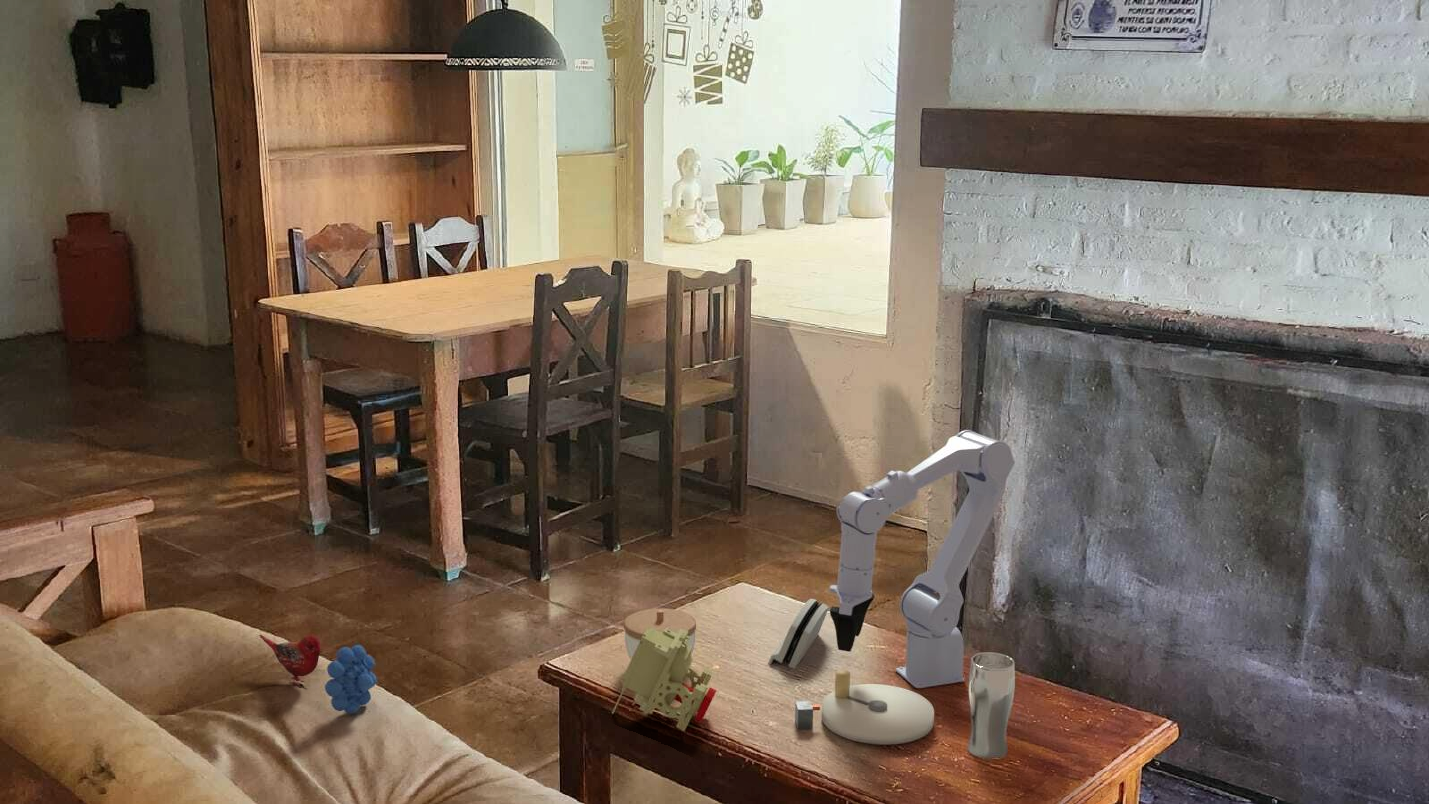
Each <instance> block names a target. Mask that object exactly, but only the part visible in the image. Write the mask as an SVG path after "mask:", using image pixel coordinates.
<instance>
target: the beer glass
mask: <svg viewBox="0 0 1429 804" xmlns="http://www.w3.org/2000/svg"><path fill="white" fill-rule="evenodd" d="M1015 665H1016V663H1015V660H1014V659H1013V658H1012V657H1010V656H1009V655H1005V654H1004V653H1000V652H994V651H993V652H991V651H987V652H977V653H974V655H972V656H971V658H970V666H969V672H968V673H969V674H968V683H967V689H968V690H967V693H968V694H967V695H968V696H967V697H968V704H969V713H970V720H971V723H970V724H971V728H970V729H971V730H970V736H969V738H968V739H969V740H968V744H967V751H968V752H969V754H971V755H972V756H974V757H976V756H977V757H976V758H978V757H981V758H984V759H983V760H987V759H992V758H993V759H994V758H1001V757H1003V756H1005V755H1006V754H1007V755H1008V744H1007V728H1008V722H1009V718H1010V714H1011V711H1012V706H1013V702H1014V697H1015V690H1016V689H1015V688H1016V687H1015V685H1016V684H1015V683H1016V682H1015V681H1016V679H1015V676H1016V674H1015ZM1007 755H1006V756H1007ZM1006 756H1005V757H1006ZM981 758H980V759H981ZM1003 758H1004V757H1003ZM1001 759H1002V758H1001Z"/></svg>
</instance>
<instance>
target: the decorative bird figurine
mask: <svg viewBox="0 0 1429 804" xmlns="http://www.w3.org/2000/svg"><path fill="white" fill-rule="evenodd" d="M259 637H260V638H261V640H263V642H264V643H266V644H267V646H269V647H270V648H271V649H272V651H273V652H274V654H275V656H276V659H277V661H278V662H279V663H280V664H281V665H282V666H283V668H285V669H286V670H287V671H286V672H288V673H290V674H292V677H291V678H290V679H291V680H296V681H301V680H302V679H301V678H300V677H305V676H308V675H310V674H312V673H313V672H314V671H315V670H316V668H317V666H318V663H319V660H320V659H319V658H320V654H321V653H322V652H323V650H322V647H321V643H320V640H319V638H318V637H317V636H315V635H313V634H311V635H310V634H309V635H307V636H304V637H303V638H302V639H301V640H300V641H286V642H285V641H284V642H282V643H278V644H277V643H276V642H274V641H272V640H271V639H269V638H267V637H266V636H264V635H262V634H259ZM301 682H305V681H303V680H302V681H301Z"/></svg>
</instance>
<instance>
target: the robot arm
mask: <svg viewBox="0 0 1429 804" xmlns="http://www.w3.org/2000/svg"><path fill="white" fill-rule="evenodd" d="M1012 452H1013V451H1012V450H1011V447H1010V446H1009V445H1008V444H1007V443H1006V442H1005V441H1003V440H1002V441H1001V440H997V439H994V438H991V437H988V436H985V435H983V434H981V433H980V434H979V433H977V432H976V431H973V430H971V429H964V430H962V431H960V432H959V433H957V434H956V435H954V436H952V437H951V436H950V437H949V438H948V439H947V441H946V445H945V446H943V447H942V448H941V449H939V450H937V451H936V452H935V453H933V454H931V455H930V456H928V457H927V458H926V459H924V460H923V461H922V462H920V463H919V464H917V465H916V466H915V467H913V468H912V469H910V470H909V471H907V472H905V471H903V470H896V471H894V470H890V471H889V472H887V473H886V477H884V478H882V479H880V480H879V481H877V482H875V483H873V484H872V485H867V486H865V487H864V489H863V490H862V491H861V492H860V491H851V492H849V493H848V494H846V495H845V496H844V497H842V499H841V501H840V503H839V506H837V507H836V515H837V518H838V520H839V521H840V531H841V538H840V548H839V549H840V550H839V561H838V571H837V583H836V584H832V585H830V586H829V588H828V589H829V592H830V593H833V594H835V595H836V598H837V599H838V602H839V606H834V605H832V606H831V607H830V609H829V614H830V618H831V619H832V622H833V625H834V629H835V635H836V643H837V648H838V650H839V651H842V652H848V653H849V652H850V653H851V651H852V649H853V647H854V643H855V639H856V637H859V636H860V634H861V631H862V630H863V629H862V628H863V625H864V621H865V619H866V614H867V612H868V609H869V607H870V605H871V603H873V601H874V599H875V594H874V593H873V591H872V585H873V576H874V574H873V573H874V567H875V566H874V565H875V557H876V556H875V555H876V547H877V536H878V532H879V531H881V529H882V528H884V526H885V523H886V522H887V520H888V519H889V518H890V516H891V515H893V514H894V513H896V512H897V511H900V510H901V509H902V508H904V507H906V506H907V505H909V504H911V503H912V502H914V501H915V500H916V499H917V496H918V493H919V490H921V489H923V488H924V487H928V485H931V484H933V483H934V482H936V481H939V480H940V479H943V478H944V477H947V476H948V475H950V474H952V473H954V472H961V473H962V475H963V476H964V478H965V480H966V483H967V486H968V490H969V491H968V493H967V495H966V497H965V499H964V501H963V503H962V505H961V506H960V509H959V511H958V513H957V515H956V517H955V519H954V521H953V522H952V525H951V527H950V530H949V531H948V533H947V535H946V537H945V539H944V541H943V543H942V545H941V547H940V549H939V551H938V552H937V555H936V556H935V559H934V562H933V563H932V564H931V567H930V569H929V570H928V571H926V572H923V573H921V574H919V575H916V576H915V578H914V580H913V583H912V584H910V586H909V587H907V589H906V590H905V591H904V592H903V593H902V595H901V597H900V600H899V611H900V613H901V614H902V616H903V617H904V618H905V625H906V626H907V627H906V629H907V630H906V649H905V650H906V653H905V666H901V667H897V668H895V672H896V673H898V674H899V675H900V676H901V677H903V679H905V680H906V681H907V682H909V683H910V684H911V685H912V686H913V687H914V688H915V689H923V688H929V687H935V686H942V685H947V684H950V685H951V684H954V683H962V682H964V681H965V678H964V677H963V672H964V671H963V667H964V653H965V652H964V651H965V650H964V647H965V644H964V639H963V635H962V632H961V631H960V630H959V628H958V627H957V625H958V623H959V620H960V611H961V608H962V606H963V604H964V597H963V595H962V591H961V589H960V583H961V581H962V579H963V577H964V575H965V573H966V571H967V569H968V567H969V565H970V563H971V561H972V560H973V556H974V555H975V553H976V551H977V549H978V547H979V545H980V543H981V541H982V539H983V537H984V534H985V533H986V530H987V529H988V527H989V525H990V523H991V521H992V519H993V517H994V515H995V513H996V511H997V508H998V507H999V505H1000V503H1001V500H1002V498H1003V496H1004V494H1005V490H1006V484H1007V480H1008V477H1009V475H1010V473H1011V471H1012V470H1013V467H1014V466H1015V463H1016V462H1015V459H1014V455H1013V453H1012ZM935 592H937V593H938V594H937V593H935Z"/></svg>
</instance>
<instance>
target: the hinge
mask: <svg viewBox="0 0 1429 804" xmlns="http://www.w3.org/2000/svg"><path fill="white" fill-rule="evenodd" d="M829 608H830V607H829V606H828V605H827V604H825V603H820V602H819V601H818V600H817V599H814V598H809V599H808V600H807V601H806V602H805V603H804V605H803V606H802V608H801V609H800V611H799V612H798V613H797V615H796V617H795V619H794V620H793V622H792V623H791V625H790V627H789V629H788V631H787V633H786V635H785V637H784V638H783V640H782V641H781V643H780V644H779V645H778V646H777V647H776V649H775V650H774V652H773V653H772V654H771V655H770V658H769V659H768V660H769V661H768V663H767V665H772V663H773V662H774V660H775V661H777V662H778V663H780V664H782V663H786V662H787V663H786V664H787V665H788V666H787V667H788V668H791V669H796V667H797V666H798V665H799V663H800V662H801V660H802V659H803V657H804V656H805V654H806V653H807V652H808V650H809V649H810V647H811V646H812V644H813V643H814V641H815V640H816V638H817V637H818V636H819V634H820V631H821V629H822V626H823V623H824V621H825V619H826V616H827V613H828V612H829V610H830V609H829Z"/></svg>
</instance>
